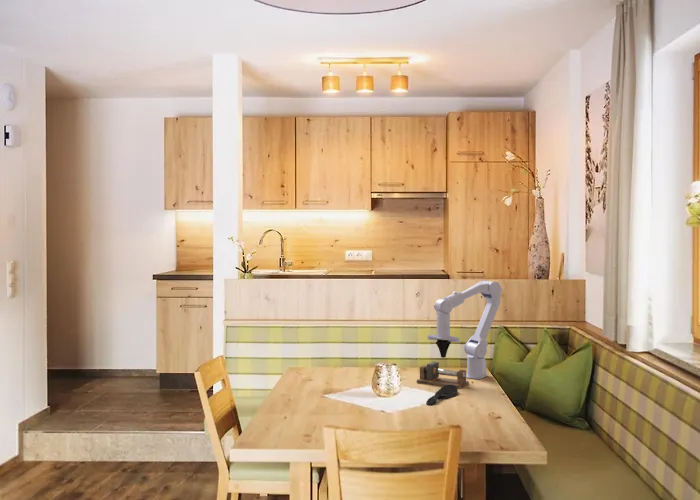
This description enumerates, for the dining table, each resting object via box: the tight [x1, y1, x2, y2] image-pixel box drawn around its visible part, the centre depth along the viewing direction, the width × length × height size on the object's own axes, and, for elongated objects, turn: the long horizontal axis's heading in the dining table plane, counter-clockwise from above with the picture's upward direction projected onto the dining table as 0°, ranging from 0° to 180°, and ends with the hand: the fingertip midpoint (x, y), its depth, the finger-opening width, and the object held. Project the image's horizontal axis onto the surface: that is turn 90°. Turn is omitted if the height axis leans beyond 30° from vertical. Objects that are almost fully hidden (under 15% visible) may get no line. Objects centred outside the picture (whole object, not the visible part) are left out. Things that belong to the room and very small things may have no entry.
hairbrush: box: [426, 383, 459, 406], centre depth 267 cm, size 8×4×25 cm
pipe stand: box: [416, 364, 470, 390], centre depth 292 cm, size 10×20×6 cm, turn 56°
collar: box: [426, 361, 440, 380], centre depth 294 cm, size 7×2×7 cm, turn 146°
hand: (443, 357), depth 297 cm, fingers closed
